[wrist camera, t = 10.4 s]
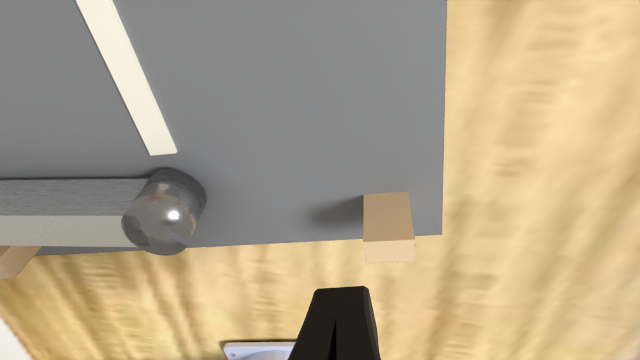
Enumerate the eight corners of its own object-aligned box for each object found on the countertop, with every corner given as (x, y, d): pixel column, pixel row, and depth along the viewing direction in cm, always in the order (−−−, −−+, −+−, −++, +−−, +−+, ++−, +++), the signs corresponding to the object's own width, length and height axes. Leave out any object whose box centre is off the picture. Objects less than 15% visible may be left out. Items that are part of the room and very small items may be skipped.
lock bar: (198, 169, 18) (177, 206, 16) (213, 216, 20) (196, 255, 18) (-45, 172, 19) (-91, 206, 17) (-11, 216, 21) (-50, 252, 19)
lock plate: (437, 213, 21) (452, 284, 17) (29, 238, 25) (-27, 300, 21) (442, -210, 12) (477, -246, 8) (-214, -64, 15) (-387, -44, 12)
